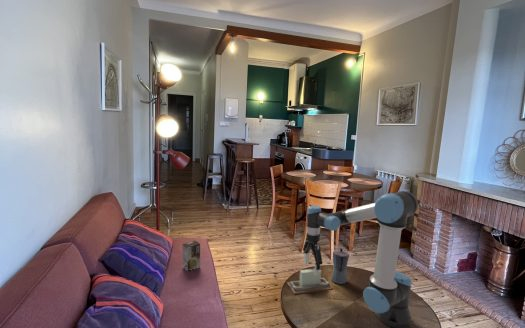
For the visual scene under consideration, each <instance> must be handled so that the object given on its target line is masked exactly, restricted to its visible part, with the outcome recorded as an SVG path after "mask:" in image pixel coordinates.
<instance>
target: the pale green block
mask: <svg viewBox="0 0 525 328" xmlns="http://www.w3.org/2000/svg"><path fill="white" fill-rule="evenodd" d="M314 273H315V268H309V269H302V270H301V269H300V270H299V279H298V281H299V285H300V287H301V286H309V285H316V284H320V282H321V278H322V270H321V269H320V274H319V275H314Z"/></svg>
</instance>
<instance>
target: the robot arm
mask: <svg viewBox="0 0 525 328" xmlns="http://www.w3.org/2000/svg"><path fill="white" fill-rule="evenodd" d="M418 209H419V201H418V199H417V197H416V196H415V195H414V194H413V193H411V192H410V191H405V190H401V191H397V192H392V193H391V192H389V193H386V194H383V195H382V196H379V197H378V198H377V199H376V201H375V202H372V203H368V204H364V205H360V206H356V207H351V208H348V209H343V210H340V211H336V212H330V213H326V212H323V211H322V207H320V206H318V205H310V206H308V208H307V213H306V215H307V217H306V234H305V235H306V236H305V241H304V243H303V247H302V251H303V254H304V257H303V260H304V261H303V265H309V263H310V252H311V253H313V258H314V269H315V273H314V275H319V274H320V270H321V269H320V268H321V265H323V257H322V252H321V245H318V243H319V241H320V240H321V238H320V237H321V228H323V229H327V230H330V231H337V230H338V229H340V227H341V226H342V225H348V224H352V223H357V222H358V223H359V222H362V221H368V220H372V219H377V220H376V221H377V223H378V224H379V232H378V233H379V234H378V242H377V249H376V257H375V263H374V264H375V265H374V271H373V274H372V275H370V276H369V283H368V286H367V287H365V288H364V289H363V292H362V295H363V296H362V297H363V300H364V303H365V304H366V305H367V307H368V308H369V309H370V310H371V311H373V312H374V313H376V316H377V318H378V320H380V322H382V323H383V324H385V325H386V326H388V327H391V328H410V326H411V324H412V318H411V314H410V309H409V306H410V305H409V303H410V296H411V289H412V279H411V278H410V277H409V276H408V275H407V274H405V273H403V272H400V271H397V270H396V269H397V264H398V263H397V262H398V257H399V250H400V243H401V235H402V230H403V229H405V228H406V227H407V221H408V218H409V217H411V216H413V215H414V214H415V213H417V211H418Z"/></svg>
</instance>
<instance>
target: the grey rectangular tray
mask: <svg viewBox="0 0 525 328" xmlns="http://www.w3.org/2000/svg"><path fill="white" fill-rule="evenodd" d="M286 285H287V286H288V288H290V290H291V291H292V293H293V294H294V295H298V294H306V293H316V292H322V291H330V290H334V287H333V286H332V285H331V283H329V281H328V280H327V279H326V278H325V277H321V282H320V284H316V285H309V286H301V287H300V285H299V280H291V281H286Z"/></svg>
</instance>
